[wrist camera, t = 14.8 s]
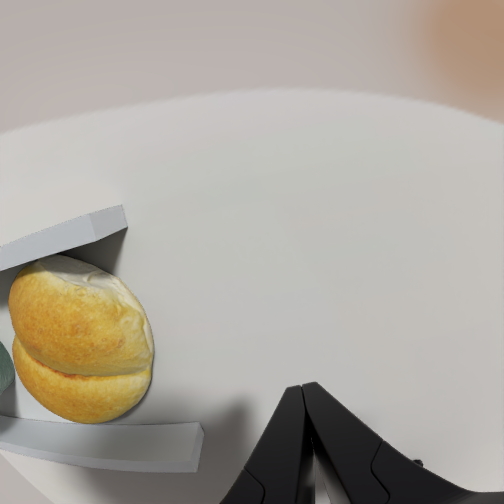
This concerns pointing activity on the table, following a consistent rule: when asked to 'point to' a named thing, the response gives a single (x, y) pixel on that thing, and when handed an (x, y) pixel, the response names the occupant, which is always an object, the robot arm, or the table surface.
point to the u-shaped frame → (83, 435)
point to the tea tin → (5, 369)
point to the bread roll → (79, 339)
